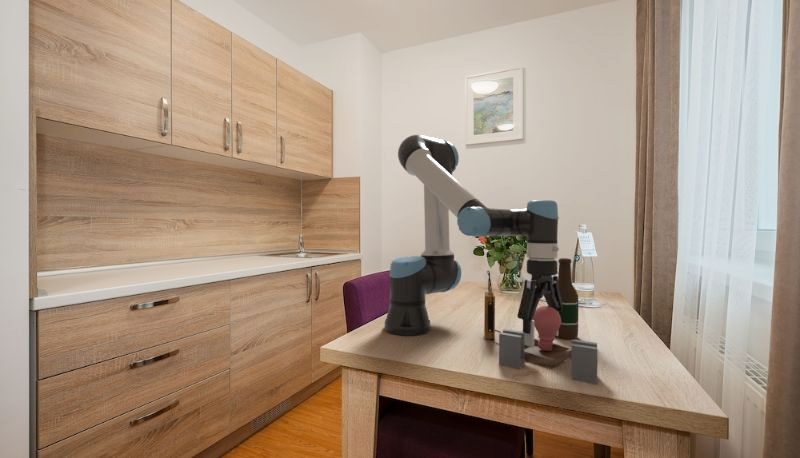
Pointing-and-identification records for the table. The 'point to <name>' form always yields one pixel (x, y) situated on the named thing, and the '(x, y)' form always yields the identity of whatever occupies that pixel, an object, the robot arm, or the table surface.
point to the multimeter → (489, 313)
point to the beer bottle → (567, 302)
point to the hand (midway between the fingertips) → (541, 339)
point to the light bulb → (546, 326)
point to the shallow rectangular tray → (548, 354)
